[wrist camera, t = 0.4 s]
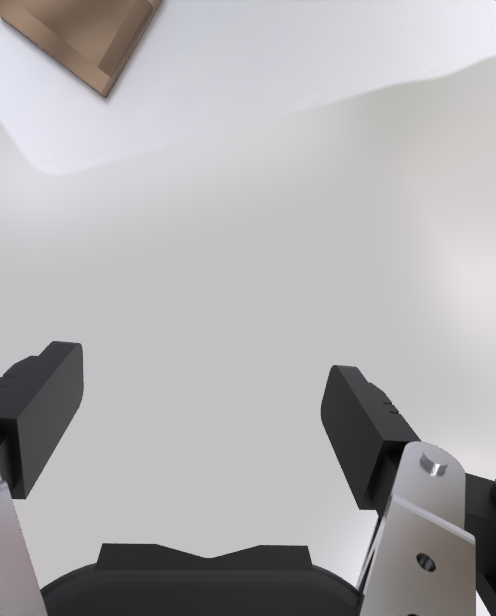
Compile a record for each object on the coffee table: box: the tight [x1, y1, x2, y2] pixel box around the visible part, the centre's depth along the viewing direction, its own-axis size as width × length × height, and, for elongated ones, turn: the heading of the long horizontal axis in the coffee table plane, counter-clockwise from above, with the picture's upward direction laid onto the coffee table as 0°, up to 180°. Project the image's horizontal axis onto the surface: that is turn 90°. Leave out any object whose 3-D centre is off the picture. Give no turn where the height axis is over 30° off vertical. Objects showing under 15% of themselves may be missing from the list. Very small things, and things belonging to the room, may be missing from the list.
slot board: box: [0, 0, 162, 98], centre depth 30 cm, size 10×10×2 cm
